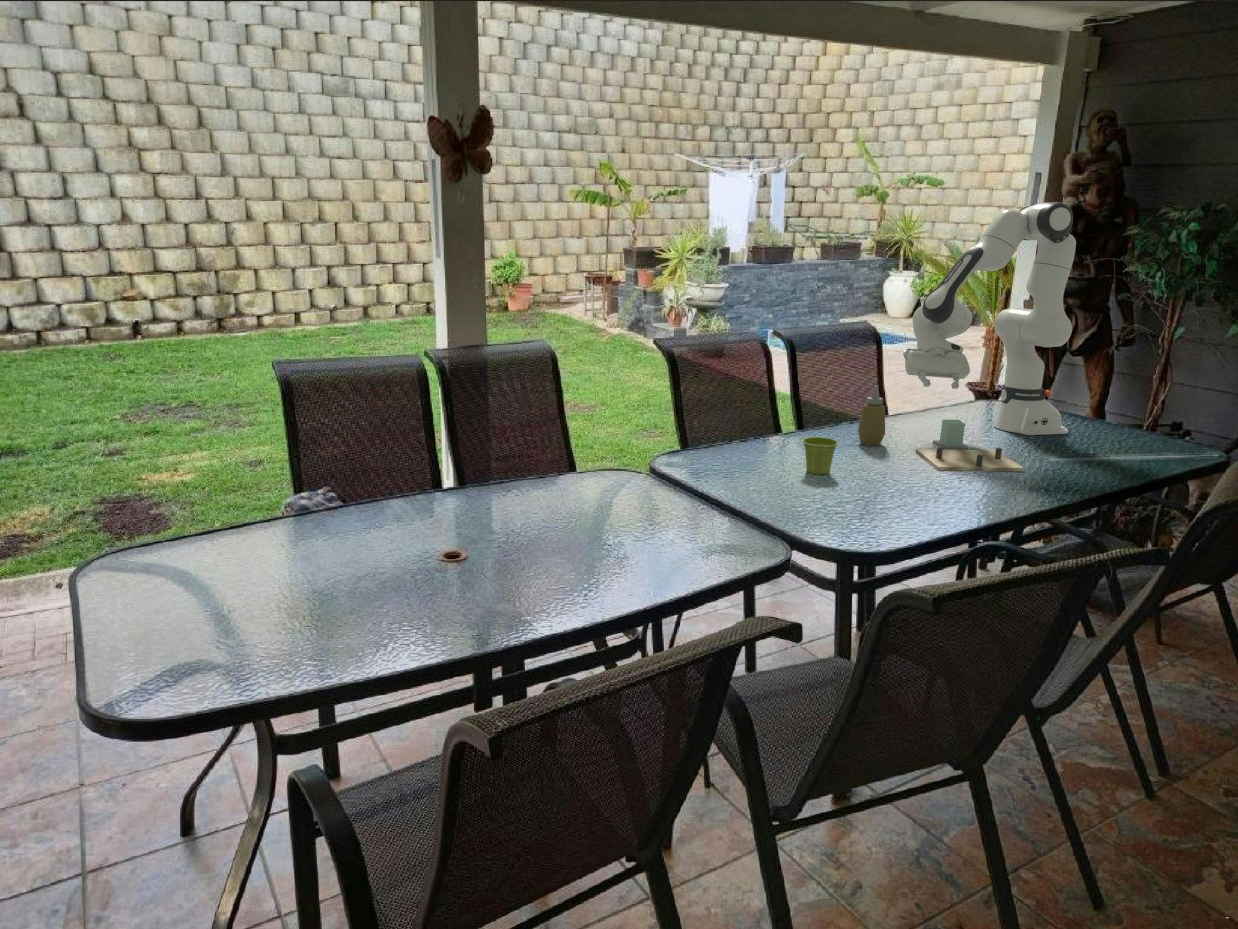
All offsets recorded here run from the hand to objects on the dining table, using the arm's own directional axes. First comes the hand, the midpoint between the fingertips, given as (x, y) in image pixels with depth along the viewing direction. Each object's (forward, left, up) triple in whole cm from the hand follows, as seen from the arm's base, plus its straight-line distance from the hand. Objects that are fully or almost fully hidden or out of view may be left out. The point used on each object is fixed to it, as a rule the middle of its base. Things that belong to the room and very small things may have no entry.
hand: (941, 386), depth 269 cm
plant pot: (+46, +39, -17) cm, 63 cm away
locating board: (0, +27, -16) cm, 31 cm away
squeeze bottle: (+23, +9, -17) cm, 30 cm away
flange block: (-1, +11, -16) cm, 20 cm away
